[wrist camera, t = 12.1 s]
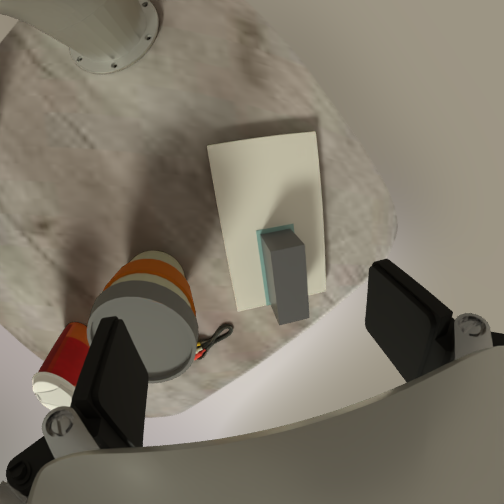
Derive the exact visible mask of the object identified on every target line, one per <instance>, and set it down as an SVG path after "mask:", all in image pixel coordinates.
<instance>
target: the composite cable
mask: <svg viewBox="0 0 504 504" xmlns="http://www.w3.org/2000/svg"><path fill="white" fill-rule="evenodd" d="M227 328H228V329H229V331H228V332H227V333H226V334H224V335H223V336H220V337H218V336H219V334H220V333H221V332H222V331H223V330H224V329H227ZM232 332H233V328H232V326H231V325H228V324H224V325H222V326H221V327H219V328H218V329H217V331H216V332H215V334H214V335H213V337H212V338H211V339H209V340H206V339H205V340H201V341H198V342H197V349H196V354H195V358H194V360H196V359H197V360H200V359H202V358H204V357H205V356H206V354H207V352H208V350H209V349H210V348H211V347H212V346H213V345H214V344H215V343H217V342H219V341H221V340H223V339H225V338H227V337H228V336H230V335H231V334H232ZM217 337H218V338H217ZM203 352H205V353H204V354H203ZM202 354H203V355H202Z"/></svg>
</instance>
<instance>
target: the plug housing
mask: <svg viewBox="0 0 504 504" xmlns="http://www.w3.org/2000/svg"><path fill="white" fill-rule="evenodd" d="M260 238H261V245H262V252H263V259H264V266H265V273H266V280H267V288H268V295H269V302H270V304H271V307H272V309H273V311H274V314H275V316H276V319H277V321H278V323H279V325H282V324H287V323H291V322H295V321H299V320H303V319H307V318H309V302H308V284H307V268H306V254H305V244H304V243H303V242H302V241H301V240H300V239H299V238H298V237H297V235H296V234H295V233H294V232H293V231H292V230H291V229H285V230H280V231H275V232H270V233H265V234H260Z"/></svg>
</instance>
